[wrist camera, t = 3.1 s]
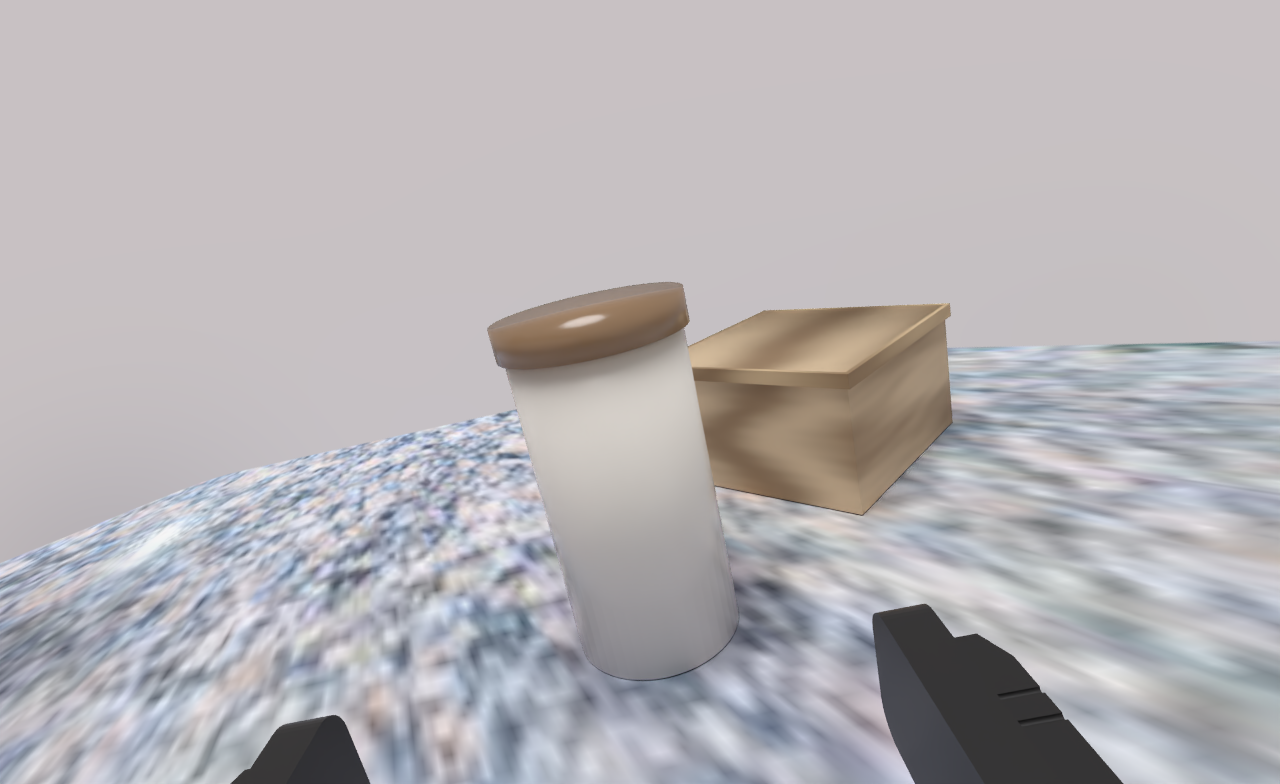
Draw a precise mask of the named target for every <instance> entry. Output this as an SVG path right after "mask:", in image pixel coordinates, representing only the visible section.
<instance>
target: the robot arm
mask: <svg viewBox="0 0 1280 784" xmlns="http://www.w3.org/2000/svg"><path fill="white" fill-rule="evenodd" d="M873 633H874V641H875V649H876V657H877V665H878V674H879V682H880V690H881V698H882V704H883V708H884V712H885V716H886V719H887V723H888V726H889V729H890V732H891V734H892V737H893V739H894V742H895V744H896V746H897V748H898V750H899V752H900V754H901V756H902V758H903V760H904V762H905V764H906V766H907V768H908V770H909V772H910V774H911V776H912V778H913V780H914V782H915V784H1123V783H1122V782H1121V780H1120V779H1119V778H1118V777H1117V776H1116V775H1115V773H1114V772H1113V771H1112V770H1111V769H1110V768H1109V767H1108V765H1107V764H1106V763H1105V762H1104V761H1103V760H1102V758H1101V757H1100V756H1099V755H1098V754H1097V753H1096V751H1095V750H1094V749H1093V748H1092V747H1091V746H1090V744H1089V743H1088V742H1087V741H1086V740H1085V739H1084V737H1083V736H1082V735H1081V734H1080V733H1079V732H1078V731H1077V729H1076V728H1075V727H1074V726H1073V725H1072V724H1071V722H1070V721H1069V720H1065V719H1064V717H1063V715H1062V712H1061V711H1060V710H1059V708H1058V707H1057V706H1056V705H1055V704H1054V703H1053V702H1052V700H1051V699H1050V698H1049V697H1048V696H1047V695H1046V693H1042V692H1041V690H1040V686H1039V685H1038V684H1037V683H1036V682H1035V681H1034V679H1033V678H1032V677H1031V676H1030V675H1029V674H1028V672H1027V671H1026V670H1025V669H1024V668H1023V667H1022V666H1021V664H1020V663H1019V662H1018V661H1017V660H1016V659H1015V657H1014V656H1012V655H1011V654H1009V653H1008V652H1006V651H1004V650H1003V649H1001V648H999V647H998V646H996V645H994V644H993V643H991V642H990V641H988V640H986V639H985V638H983V637H981V636H980V635H978V634H972V635H967V636H961V637H956V638H954V637H953V636H952V634H951V633H950V632H949V630H948V629H947V628H946V627H945V625H944V624H943V623H942V621H941V620H940V619H939V617H938V616H937V615H936V613H935V612H934V611H933V610H932V608H931V607H930V606H928V605H927V604H920V605H915V606H910V607H905V608H900V609H894V610H889V611H884V612H879V613H875V614H874V615H873ZM231 784H370V782H369V779H368V777H367V774H366V772H365V770H364V767H363V765H362V762H361V760H360V758H359V755H358V753H357V750H356V748H355V746H354V743H353V741H352V738H351V736H350V734H349V731H348V729H347V726H346V724H345V722H344V721H343V720H342V719H341V718H340V717H339V716H336V715H331V716H326V717H320V718H315V719H310V720H305V721H299V722H294V723H289V724H285V725H283V726H281V727H279V728H278V729H277V730H276V731H275V733H274V734H273V735H272V737H271V738H270V740H269V741H268V743H267V744H266V746H265V747H264V749H263V750H262V752H261V753H260V755H259V756H258V758H257V759H256V761H255V763H254V764H253V766H252V767H251V769H247V770H244V771H243V772H242V773H241V774H240V775H239V776H238V777H237V778H236V779H235V780H234V781H233V782H232V783H231Z"/></svg>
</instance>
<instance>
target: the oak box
mask: <svg viewBox="0 0 1280 784" xmlns="http://www.w3.org/2000/svg"><path fill="white" fill-rule="evenodd" d="M950 316H951V313H950V304H923V305H896V306H872V307H871V306H870V307H847V308H822V309H821V308H819V309H794V310H769V311H762V312H760V313H758V314H756V315H754V316H752V317H750V318H748V319H746V320H743V321H741V322H739V323H737V324H735V325H733V326H731V327H728V328H726V329H724V330H722V331H720V332H718V333H716V334H714V335H711V336H709V337H707V338H705V339H703V340H701V341H699V342H697V343H694V344H692V345H690V346H688V351H689V356H690V361H691V367H692V372H693V377H694V382H695V387H696V393H697V398H698V403H699V408H700V413H701V419H702V424H703V429H704V434H705V439H706V445H707V450H708V455H709V460H710V465H711V470H712V476H713V481H714V485H715V486H720V487H725V488H730V489H735V490H740V491H745V492H750V493H755V494H760V495H765V496H770V497H775V498H780V499H785V500H790V501H795V502H800V503H805V504H810V505H815V506H820V507H825V508H830V509H835V510H840V511H845V512H850V513H855V514H860V515H863V514H864V513H865V512H866V511H867V510H868V509H869V508H870V507H871V506H872V505H873V504H874V503H875V502H876V501H877V500H878V498H879V497H880V496H881V495H882V494H883V493H884V492H885V491H886V490H887V489H888V488H889V487H890V486H891V485H892V484H893V483H894V482H895V481H896V480H897V479H898V478H899V477H900V476H901V475H902V474H903V473H904V472H905V470H906V469H907V468H908V467H909V466H910V465H911V464H912V463H913V462H914V461H915V460H916V459H917V458H918V457H919V456H920V455H921V454H922V453H923V452H924V451H925V450H926V449H927V448H928V447H929V446H930V445H931V444H932V442H933V441H934V440H935V439H936V438H937V437H938V436H939V435H940V434H941V433H942V432H943V431H944V430H945V429H946V428H947V427H948V426H949V425H950V424H951V423H952V410H951V396H950V382H949V369H948V355H947V341H946V327H945V319H947V318H948V317H950Z"/></svg>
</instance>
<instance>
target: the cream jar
mask: <svg viewBox="0 0 1280 784" xmlns="http://www.w3.org/2000/svg"><path fill="white" fill-rule="evenodd" d="M688 323H689V315H688V310H687V305H686V299H685V294H684V289H683V285H682V284H680V283H674V282H659V283H648V284H640V285H632V286H626V287H619V288H613V289H608V290H603V291H598V292H593V293H588V294H584V295H579V296H575V297H572V298H567V299H563V300H559V301H555V302H552V303H548V304H544V305H541V306H538V307H534V308H531V309H528V310H525V311H522V312H519V313H516V314H513V315H511V316H508V317H506V318H503V319H501V320H499V321H497V322H495V323H493V324H492V325H490V326H489V328H488V330H487V331H488V334H489V338H490V341H491V344H492V348H493V352H494V356H495V359H496V362H497V365H498V366H500V367H502V368H505V369H506V372H507V375H508V380H509V383H510V386H511V390H512V394H513V398H514V401H515V405H516V408H517V412H518V416H519V419H520V423H521V427H522V430H523V434H524V437H525V441H526V445H527V448H528V452H529V455H530V459H531V463H532V466H533V470H534V474H535V477H536V481H537V484H538V488H539V492H540V495H541V499H542V503H543V506H544V510H545V513H546V517H547V521H548V524H549V528H550V531H551V535H552V539H553V542H554V546H555V550H556V553H557V557H558V560H559V564H560V568H561V571H562V575H563V578H564V582H565V586H566V589H567V593H568V597H569V600H570V604H571V607H572V611H573V615H574V618H575V622H576V626H577V629H578V633H579V636H580V640H581V644H582V647H583V651H584V653H585V655H586V657H587V658H588V660H589V661H590V662H591V663H592V664H593V665H594V666H595V667H596V668H598V669H600V670H601V671H603V672H605V673H607V674H609V675H612V676H615V677H619V678H624V679H630V680H653V679H660V678H666V677H670V676H674V675H678V674H681V673H684V672H687V671H689V670H691V669H693V668H696V667H698V666H700V665H701V664H703V663H705V662H707V661H708V660H709V659H711V658H712V657H714V656H715V655H716V654H717V653H719V652H720V651H721V650H722V649H723V648H724V647H725V646H726V644H727V643H728V642H729V641H730V639H731V638H732V636H733V635H734V633H735V630H736V628H737V625H738V620H739V611H738V606H737V600H736V595H735V590H734V585H733V580H732V574H731V569H730V564H729V559H728V554H727V548H726V543H725V538H724V533H723V528H722V522H721V517H720V512H719V507H718V502H717V496H716V491H715V486H714V481H713V476H712V470H711V465H710V460H709V455H708V450H707V445H706V439H705V434H704V429H703V424H702V419H701V413H700V408H699V403H698V398H697V393H696V387H695V382H694V377H693V372H692V367H691V361H690V356H689V351H688V346H687V341H686V336H685V330H684V327H685V326H686V325H687V324H688Z"/></svg>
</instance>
